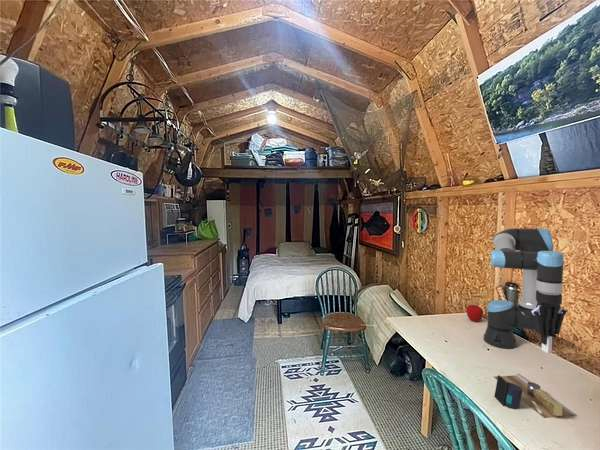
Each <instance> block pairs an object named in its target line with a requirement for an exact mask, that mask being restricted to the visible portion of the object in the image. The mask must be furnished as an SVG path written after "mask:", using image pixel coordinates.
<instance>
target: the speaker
mask: <svg viewBox="0 0 600 450" xmlns="http://www.w3.org/2000/svg"><path fill="white" fill-rule="evenodd" d="M497 376H498V379H496V385H495V390H494V396H493V397H494V398H495V399H496V400H497V401H498V403H500V404H501V405H502V407H506V408H508V409H512V410H518V409H519V408H520V404H521V401H522V400H521V396H522V389H521V388H520V387H519V386H517V385H515V384H513V383H510V382H506V381H505V380H504V379H503V378H502V377H501V376H502V375H499V374H498V375H497Z"/></svg>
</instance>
